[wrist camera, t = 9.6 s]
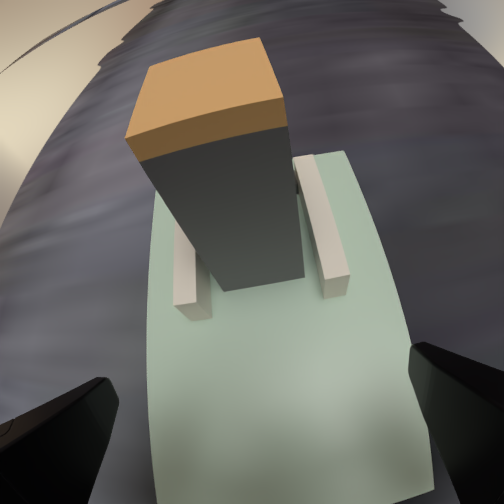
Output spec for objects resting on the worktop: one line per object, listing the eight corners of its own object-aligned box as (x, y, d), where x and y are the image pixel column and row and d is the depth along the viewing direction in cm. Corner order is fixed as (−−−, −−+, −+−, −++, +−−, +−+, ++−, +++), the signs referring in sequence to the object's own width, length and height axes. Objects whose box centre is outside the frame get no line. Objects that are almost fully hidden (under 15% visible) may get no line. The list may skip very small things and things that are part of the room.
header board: (426, 485, 11) (467, 506, 6) (169, 515, 12) (119, 539, 8) (343, 162, 22) (344, 105, 18) (162, 199, 23) (133, 152, 19)
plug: (304, 277, 17) (283, 97, 7) (224, 291, 17) (125, 138, 8) (289, 205, 19) (259, 37, 10) (219, 219, 20) (149, 66, 11)
